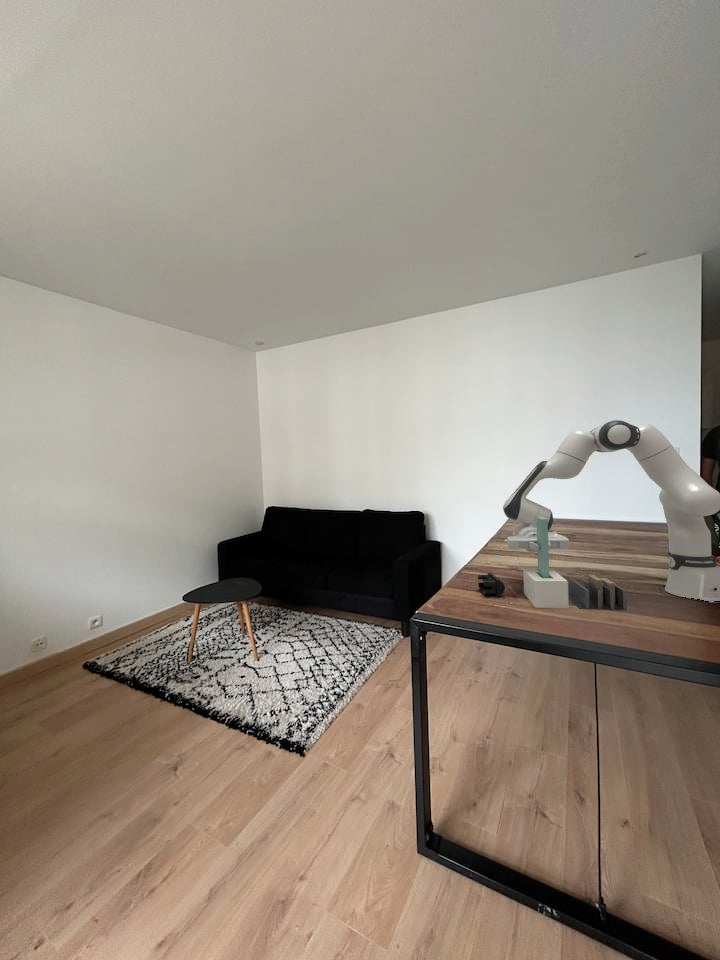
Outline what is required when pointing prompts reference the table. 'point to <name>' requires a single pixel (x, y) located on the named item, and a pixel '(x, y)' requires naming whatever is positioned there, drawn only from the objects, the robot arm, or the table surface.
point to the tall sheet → (543, 547)
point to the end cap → (490, 585)
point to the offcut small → (609, 585)
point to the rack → (596, 596)
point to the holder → (546, 589)
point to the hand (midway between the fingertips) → (543, 547)
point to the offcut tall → (597, 584)
